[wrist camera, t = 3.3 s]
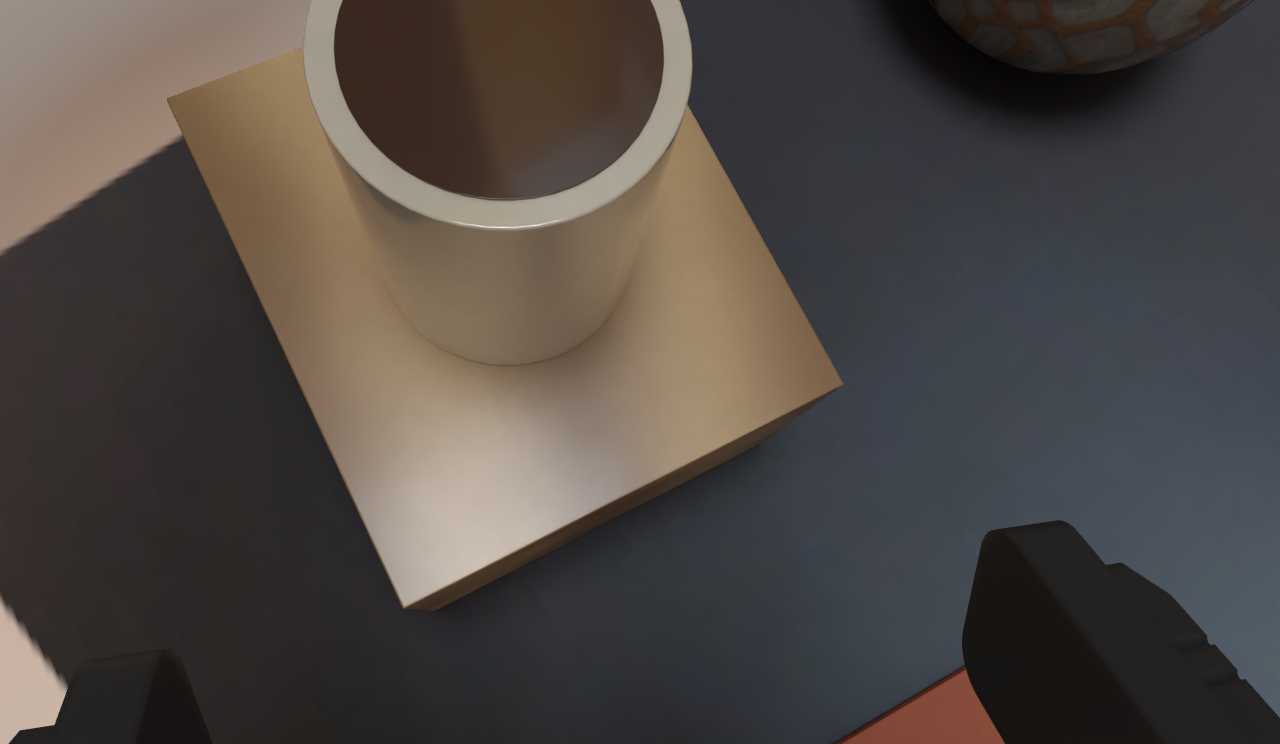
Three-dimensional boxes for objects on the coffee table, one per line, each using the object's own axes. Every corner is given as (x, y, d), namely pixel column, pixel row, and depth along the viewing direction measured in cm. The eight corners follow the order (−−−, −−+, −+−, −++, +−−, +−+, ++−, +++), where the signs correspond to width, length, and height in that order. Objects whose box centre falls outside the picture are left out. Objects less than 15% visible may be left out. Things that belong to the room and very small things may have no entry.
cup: (444, 409, 24) (403, 293, 16) (334, 183, 25) (238, -45, 17) (677, 299, 26) (760, 136, 17) (564, 89, 27) (587, -168, 18)
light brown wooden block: (434, 611, 32) (403, 609, 23) (255, 230, 34) (165, 98, 25) (761, 442, 34) (845, 384, 26) (575, 98, 36) (594, -64, 28)
